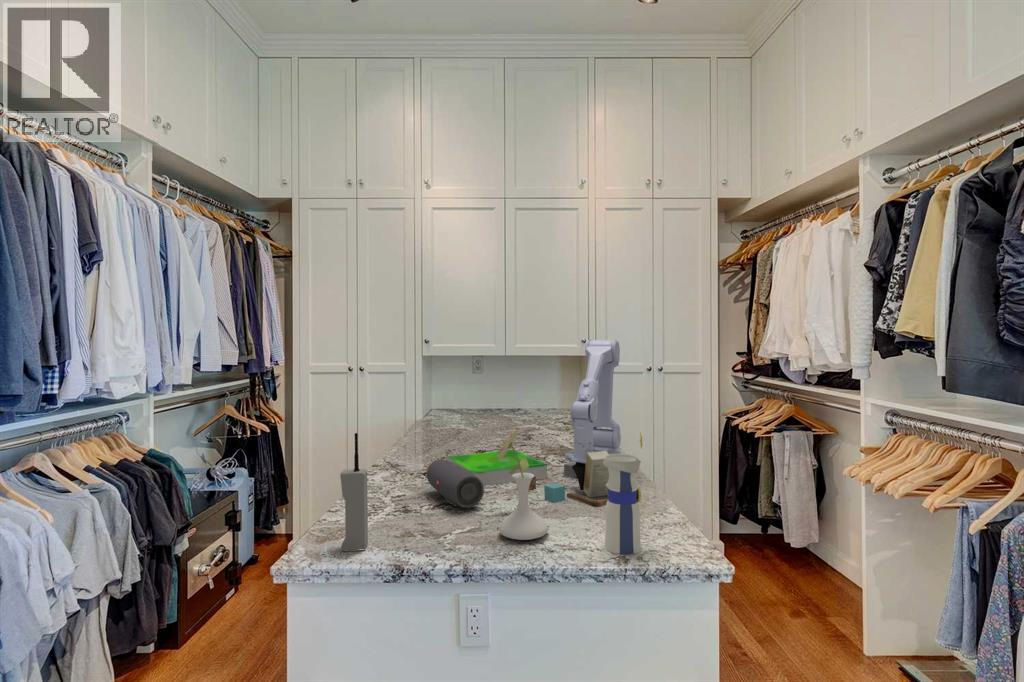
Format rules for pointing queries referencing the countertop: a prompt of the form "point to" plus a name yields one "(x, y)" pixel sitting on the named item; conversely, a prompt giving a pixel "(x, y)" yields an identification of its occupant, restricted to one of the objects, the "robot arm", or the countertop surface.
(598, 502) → the frame
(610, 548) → the water bottle
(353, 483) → the vintage mobile phone
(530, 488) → the walnut block
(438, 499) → the countertop surface
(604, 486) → the skincare box
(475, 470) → the tray
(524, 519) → the flower in vase
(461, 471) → the bluetooth speaker
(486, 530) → the countertop surface
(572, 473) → the charcoal block
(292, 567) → the countertop surface
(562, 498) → the teal block
